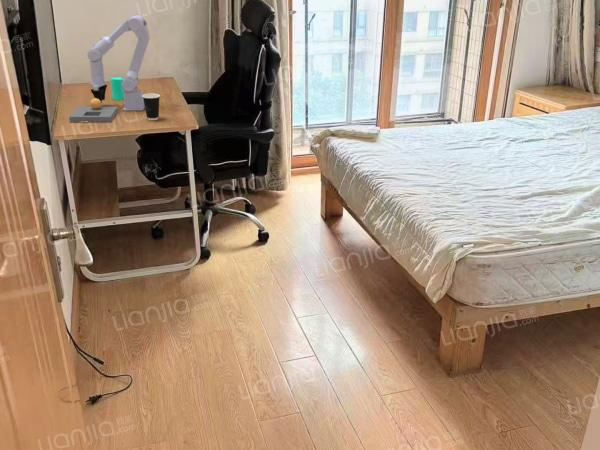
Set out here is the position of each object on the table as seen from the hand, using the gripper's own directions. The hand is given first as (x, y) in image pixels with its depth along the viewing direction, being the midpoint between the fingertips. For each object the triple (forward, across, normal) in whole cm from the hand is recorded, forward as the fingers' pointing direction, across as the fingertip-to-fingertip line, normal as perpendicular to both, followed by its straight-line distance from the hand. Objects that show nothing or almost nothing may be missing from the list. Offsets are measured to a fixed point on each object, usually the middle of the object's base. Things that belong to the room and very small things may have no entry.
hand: (100, 101), depth 295 cm
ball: (-2, +11, 0) cm, 11 cm away
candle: (+3, -19, +5) cm, 20 cm away
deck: (+3, +16, 0) cm, 16 cm away
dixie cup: (+3, +19, +27) cm, 33 cm away
